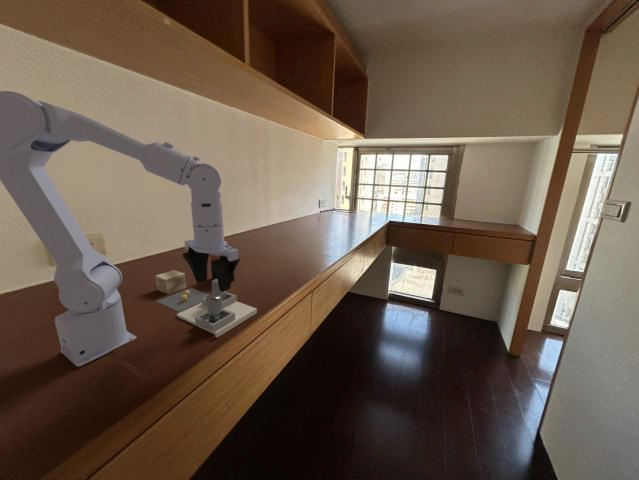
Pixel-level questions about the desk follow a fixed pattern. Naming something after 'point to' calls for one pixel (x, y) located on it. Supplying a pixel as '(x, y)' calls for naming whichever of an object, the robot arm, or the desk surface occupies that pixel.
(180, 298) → the tile
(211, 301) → the pin
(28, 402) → the desk surface
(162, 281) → the box
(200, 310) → the build board
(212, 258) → the battery
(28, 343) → the desk surface
